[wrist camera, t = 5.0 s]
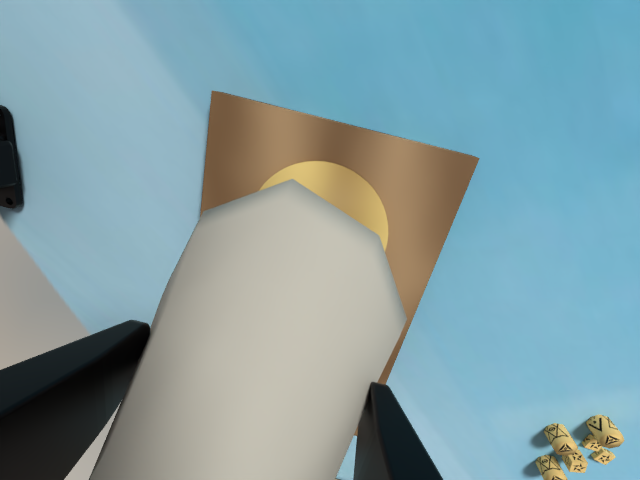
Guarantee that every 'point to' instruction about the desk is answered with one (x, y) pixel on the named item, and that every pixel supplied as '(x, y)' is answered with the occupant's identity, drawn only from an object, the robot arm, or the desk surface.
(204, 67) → the desk surface
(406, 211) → the gear board
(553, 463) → the dice set
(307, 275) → the flask
